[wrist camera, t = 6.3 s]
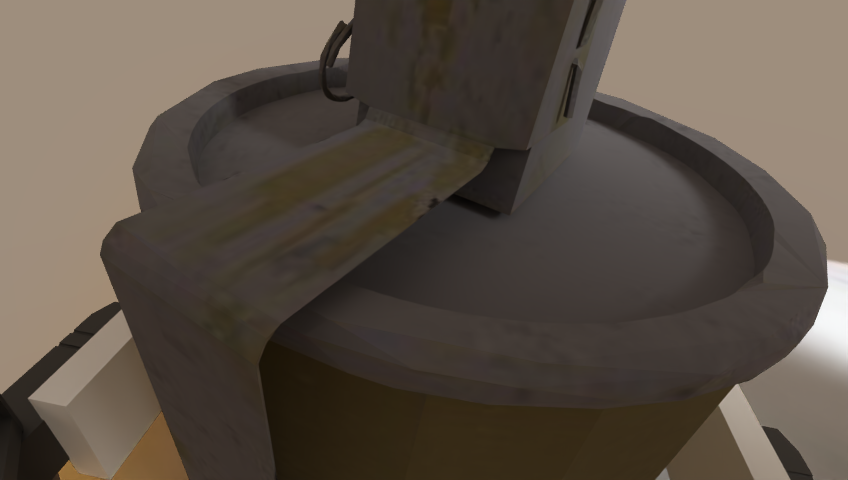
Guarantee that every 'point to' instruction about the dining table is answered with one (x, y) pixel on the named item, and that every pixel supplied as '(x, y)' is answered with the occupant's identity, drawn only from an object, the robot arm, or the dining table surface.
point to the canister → (451, 259)
